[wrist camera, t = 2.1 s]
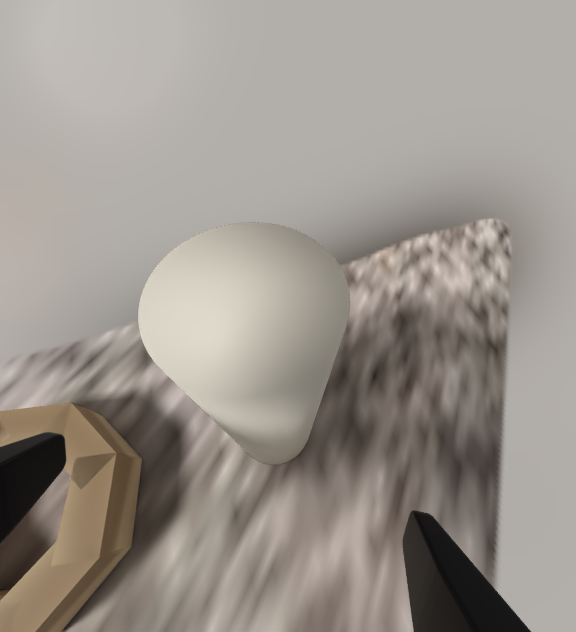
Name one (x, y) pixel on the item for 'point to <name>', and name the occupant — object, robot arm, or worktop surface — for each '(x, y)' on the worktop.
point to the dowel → (249, 330)
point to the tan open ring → (74, 516)
